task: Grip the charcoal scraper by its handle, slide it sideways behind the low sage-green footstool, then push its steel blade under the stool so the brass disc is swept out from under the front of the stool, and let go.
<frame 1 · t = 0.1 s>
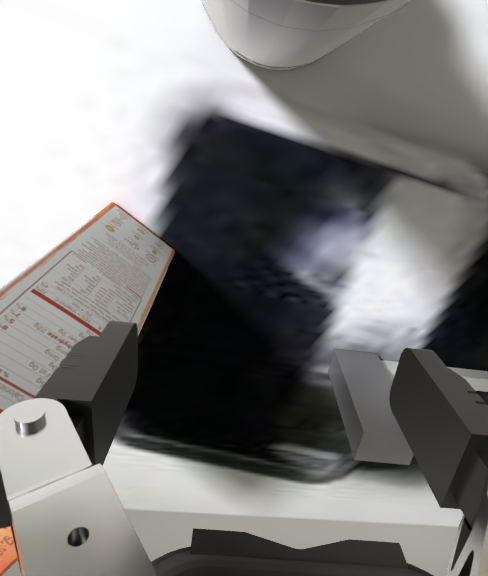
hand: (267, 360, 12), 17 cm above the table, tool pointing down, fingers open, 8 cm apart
cracker box: (97, 290, 30), on the table
scraper: (352, 363, 33), on the table
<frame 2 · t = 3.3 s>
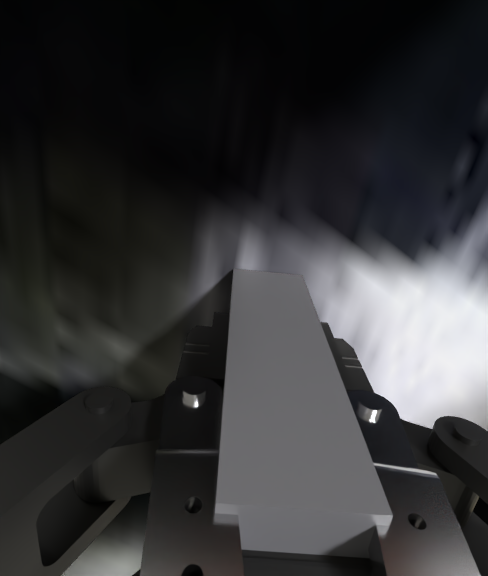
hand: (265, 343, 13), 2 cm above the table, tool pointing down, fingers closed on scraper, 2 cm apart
scraper: (262, 318, 14), on the table, touching gripper
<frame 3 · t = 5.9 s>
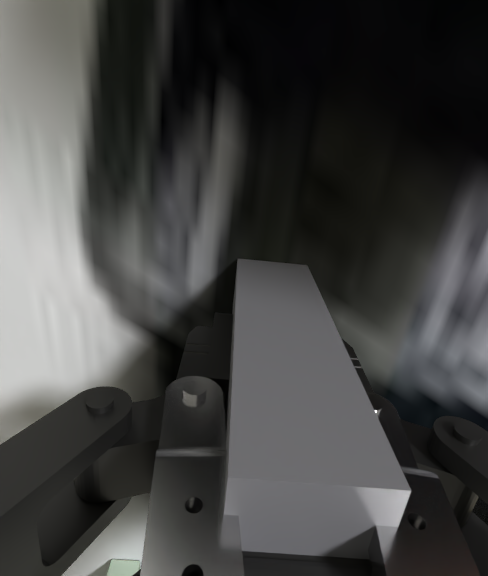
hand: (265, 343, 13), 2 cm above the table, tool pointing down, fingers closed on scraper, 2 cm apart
scraper: (266, 309, 14), on the table, touching gripper
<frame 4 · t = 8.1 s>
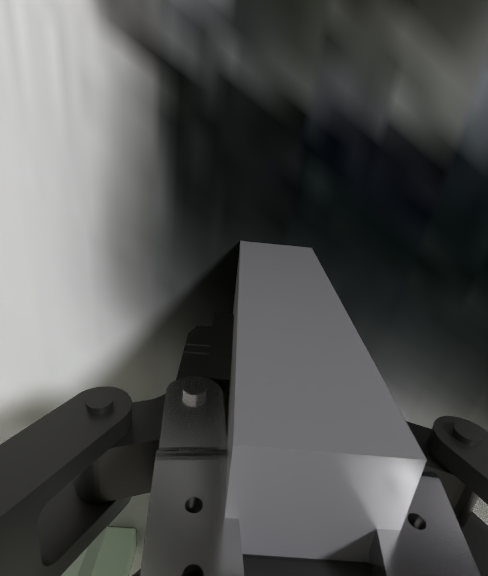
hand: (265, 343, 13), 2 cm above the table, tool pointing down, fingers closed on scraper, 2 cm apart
scraper: (269, 293, 14), on the table, touching gripper
footstool: (237, 496, 18), on the table
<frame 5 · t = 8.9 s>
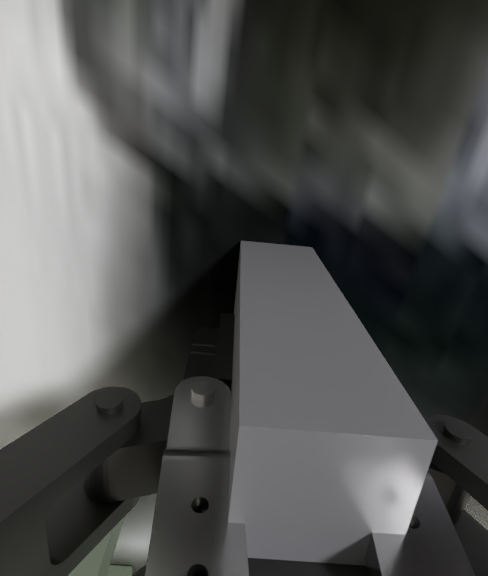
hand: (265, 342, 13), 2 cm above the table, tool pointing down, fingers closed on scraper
scraper: (270, 293, 14), on the table, touching gripper
footstool: (228, 538, 19), on the table
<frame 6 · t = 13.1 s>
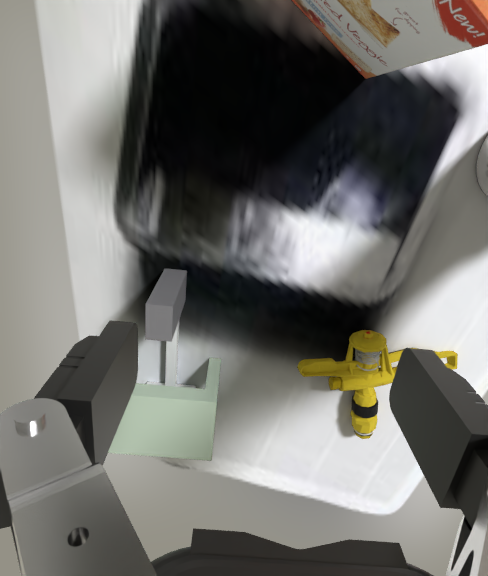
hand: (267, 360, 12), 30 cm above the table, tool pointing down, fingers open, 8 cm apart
sprinkler: (372, 375, 49), on the table
scraper: (175, 284, 44), on the table
footstool: (170, 381, 49), on the table
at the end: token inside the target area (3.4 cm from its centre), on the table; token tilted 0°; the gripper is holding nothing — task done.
